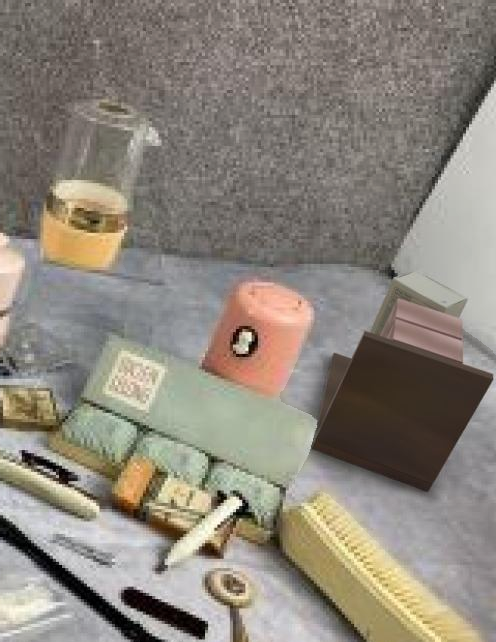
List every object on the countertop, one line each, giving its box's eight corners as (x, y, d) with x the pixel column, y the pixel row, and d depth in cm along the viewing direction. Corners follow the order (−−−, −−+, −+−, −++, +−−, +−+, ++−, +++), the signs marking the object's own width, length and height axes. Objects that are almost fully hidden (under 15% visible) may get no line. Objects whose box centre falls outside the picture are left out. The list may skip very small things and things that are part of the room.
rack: (330, 359, 103) (376, 256, 96) (431, 394, 101) (487, 291, 93) (311, 448, 89) (363, 335, 82) (428, 492, 86) (493, 379, 79)
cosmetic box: (420, 398, 98) (472, 299, 91) (396, 409, 95) (448, 308, 88) (370, 366, 101) (417, 268, 95) (346, 375, 99) (392, 276, 92)
